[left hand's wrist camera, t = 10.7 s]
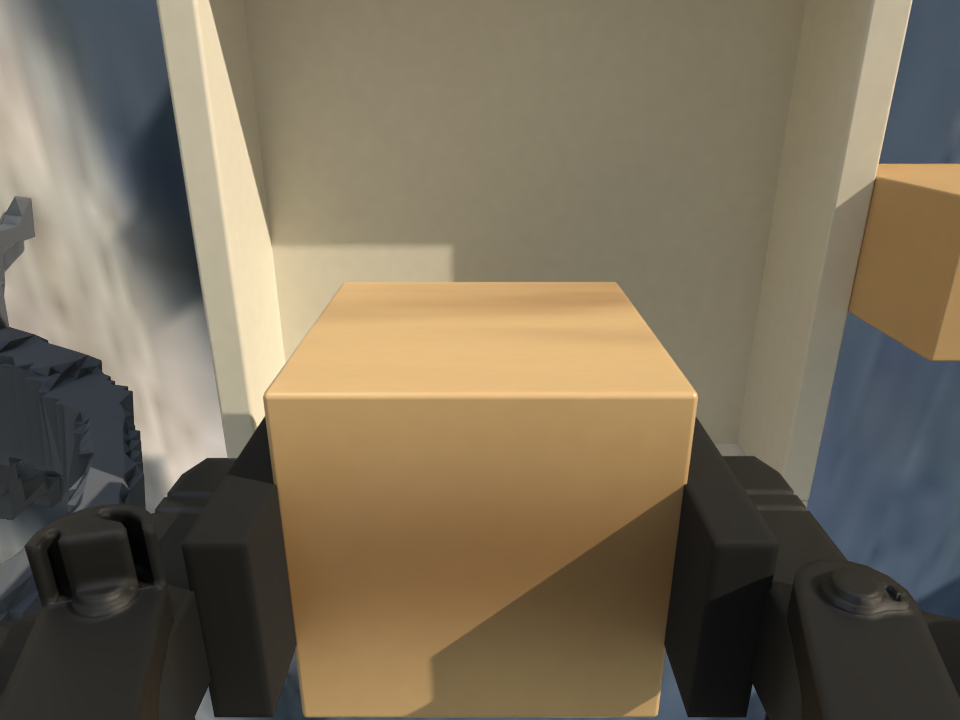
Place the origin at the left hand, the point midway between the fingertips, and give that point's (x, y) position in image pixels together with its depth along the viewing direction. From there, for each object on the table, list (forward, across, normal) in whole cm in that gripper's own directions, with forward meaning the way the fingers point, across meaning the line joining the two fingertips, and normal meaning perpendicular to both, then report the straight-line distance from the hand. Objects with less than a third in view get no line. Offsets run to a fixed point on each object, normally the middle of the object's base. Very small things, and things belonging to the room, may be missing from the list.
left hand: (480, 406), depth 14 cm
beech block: (0, 0, 0) cm, 0 cm away
